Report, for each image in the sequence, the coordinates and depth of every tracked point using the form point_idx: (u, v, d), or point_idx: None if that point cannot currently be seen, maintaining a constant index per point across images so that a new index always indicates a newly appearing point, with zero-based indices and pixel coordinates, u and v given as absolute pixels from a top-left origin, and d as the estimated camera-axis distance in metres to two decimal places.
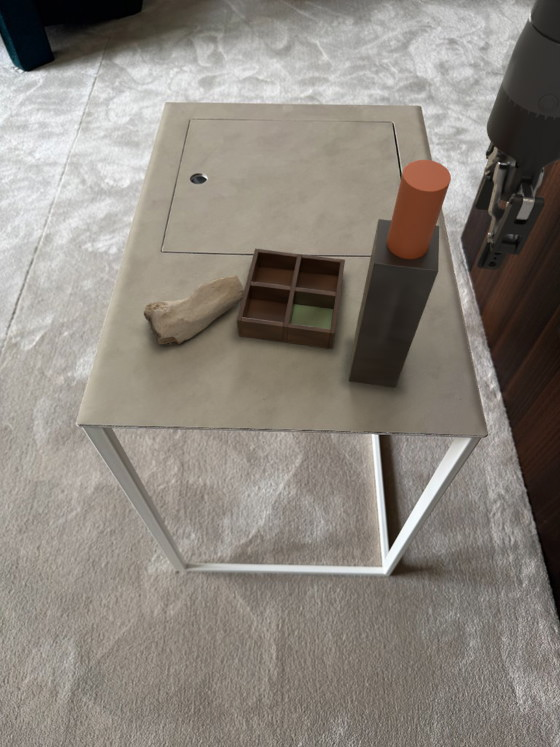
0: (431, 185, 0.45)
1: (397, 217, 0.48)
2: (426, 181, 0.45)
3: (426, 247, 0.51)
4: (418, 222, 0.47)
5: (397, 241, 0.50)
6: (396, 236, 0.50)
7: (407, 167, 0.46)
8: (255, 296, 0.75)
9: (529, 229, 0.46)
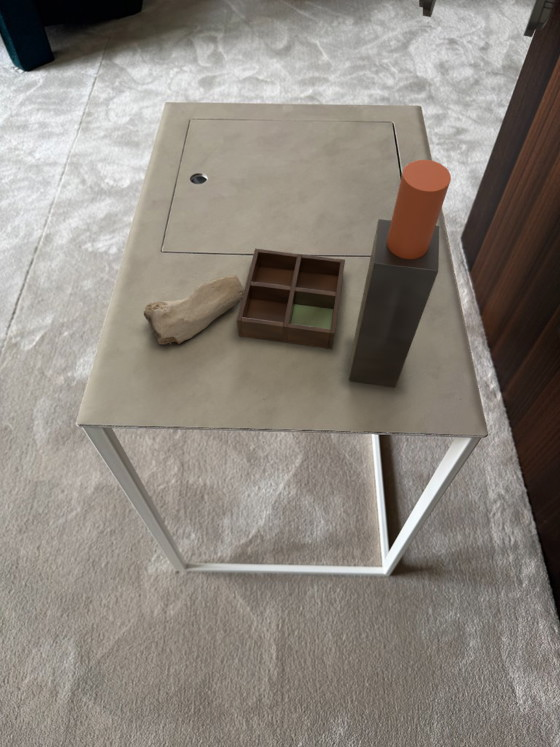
0: (431, 185, 0.45)
1: (397, 217, 0.48)
2: (426, 181, 0.45)
3: (426, 247, 0.51)
4: (418, 222, 0.47)
5: (397, 241, 0.50)
6: (396, 236, 0.50)
7: (407, 167, 0.46)
8: (255, 296, 0.75)
9: None
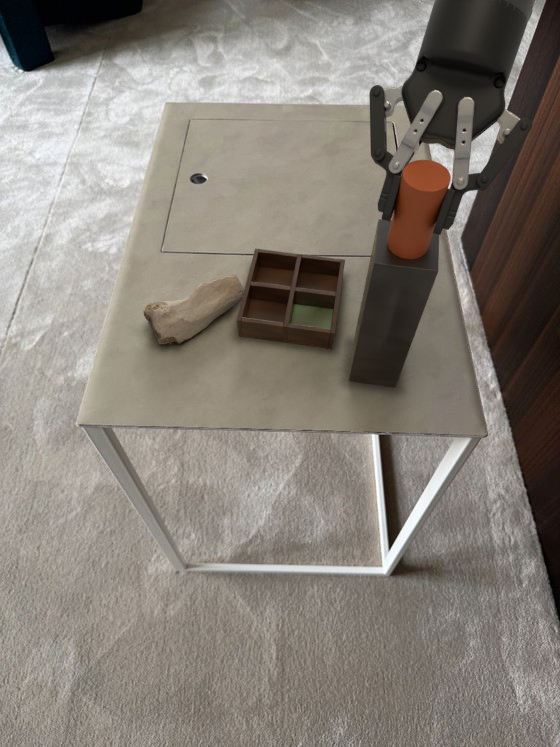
0: (431, 185, 0.45)
1: (397, 217, 0.48)
2: (425, 181, 0.45)
3: (426, 247, 0.51)
4: (418, 222, 0.47)
5: (397, 241, 0.50)
6: (396, 236, 0.50)
7: (407, 167, 0.46)
8: (255, 296, 0.75)
9: (370, 121, 0.46)
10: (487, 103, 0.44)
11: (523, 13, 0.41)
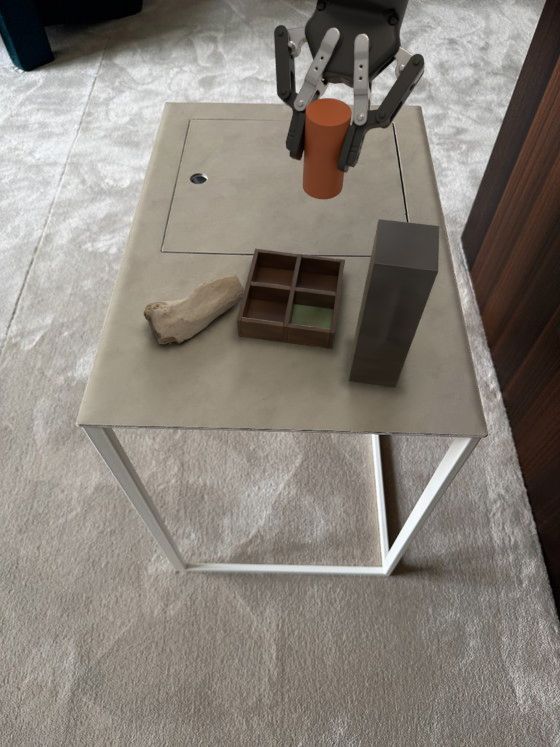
0: (331, 120, 0.47)
1: (306, 155, 0.50)
2: (327, 117, 0.47)
3: (338, 187, 0.53)
4: (324, 159, 0.49)
5: (308, 181, 0.52)
6: (307, 175, 0.52)
7: (311, 105, 0.48)
8: (255, 296, 0.75)
9: None
10: (382, 40, 0.45)
11: None
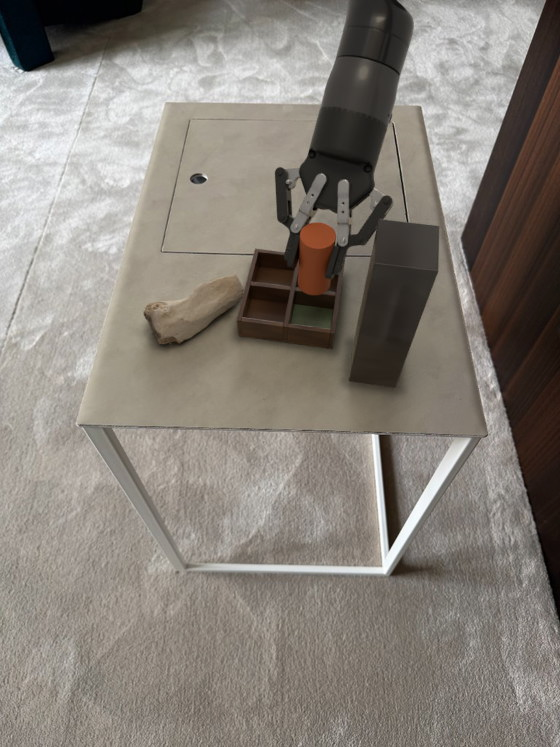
0: (320, 243, 0.59)
1: (300, 264, 0.63)
2: (316, 240, 0.60)
3: (326, 286, 0.65)
4: (314, 269, 0.62)
5: (302, 282, 0.65)
6: (301, 278, 0.64)
7: (304, 229, 0.60)
8: (255, 296, 0.75)
9: (276, 193, 0.61)
10: (360, 183, 0.58)
11: (381, 120, 0.56)
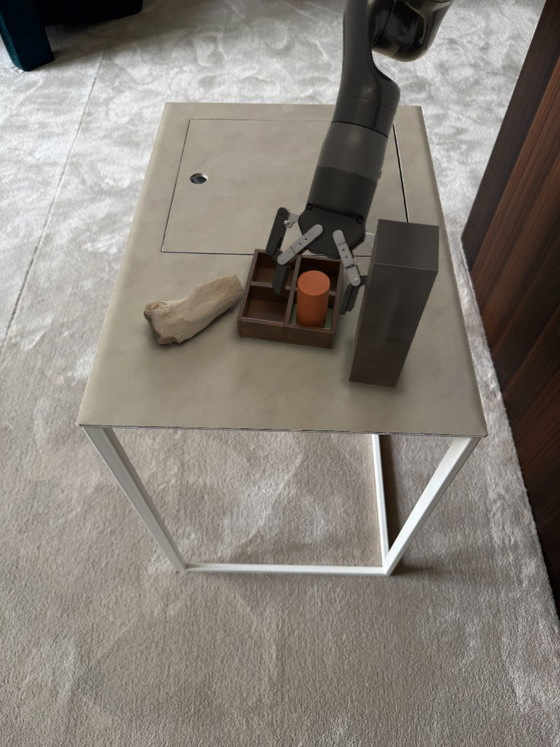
0: (315, 290, 0.66)
1: (298, 307, 0.70)
2: (312, 288, 0.66)
3: (321, 325, 0.72)
4: (311, 312, 0.69)
5: (300, 322, 0.72)
6: (299, 319, 0.71)
7: (301, 276, 0.67)
8: (255, 296, 0.75)
9: (272, 228, 0.67)
10: (352, 234, 0.64)
11: (371, 178, 0.62)
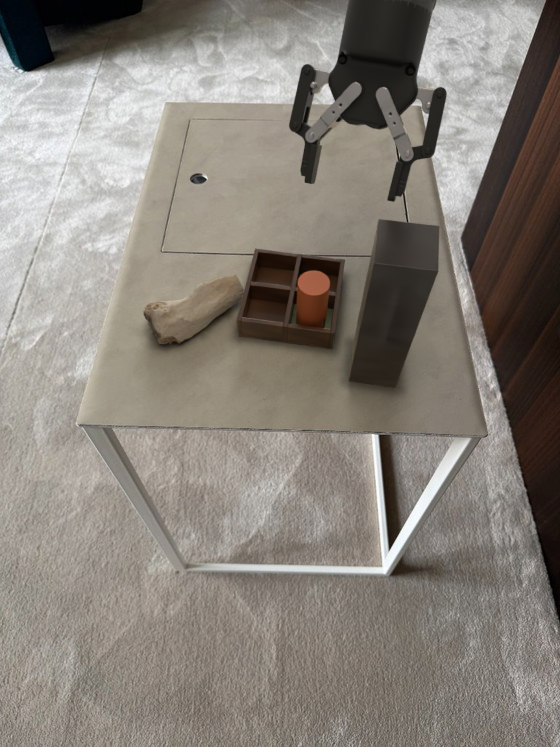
0: (315, 290, 0.66)
1: (298, 307, 0.70)
2: (312, 288, 0.66)
3: (321, 325, 0.72)
4: (311, 312, 0.69)
5: (300, 322, 0.72)
6: (299, 319, 0.71)
7: (301, 276, 0.67)
8: (255, 296, 0.75)
9: (296, 94, 0.52)
10: (401, 91, 0.50)
11: (424, 7, 0.46)
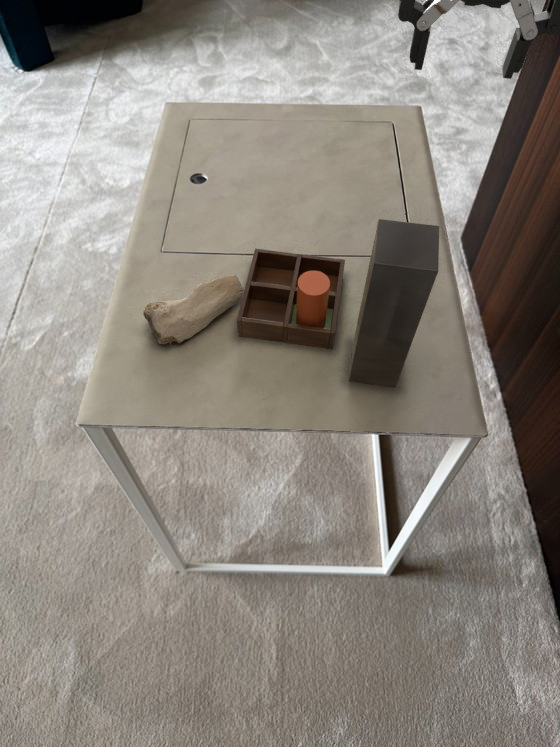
0: (315, 290, 0.66)
1: (298, 307, 0.70)
2: (312, 288, 0.66)
3: (321, 325, 0.72)
4: (311, 312, 0.69)
5: (300, 322, 0.72)
6: (299, 319, 0.71)
7: (301, 276, 0.67)
8: (255, 296, 0.75)
9: None
10: None
11: None
